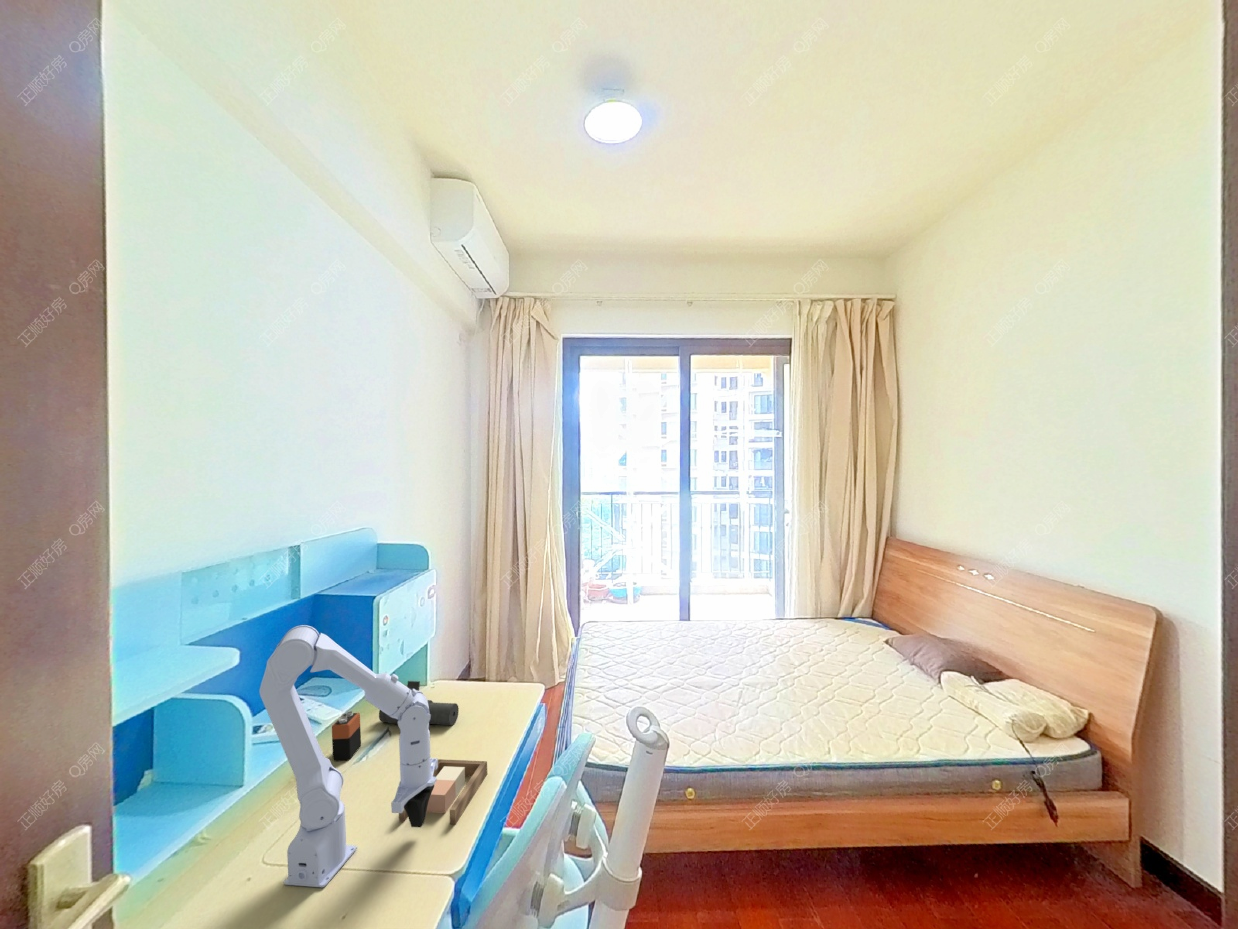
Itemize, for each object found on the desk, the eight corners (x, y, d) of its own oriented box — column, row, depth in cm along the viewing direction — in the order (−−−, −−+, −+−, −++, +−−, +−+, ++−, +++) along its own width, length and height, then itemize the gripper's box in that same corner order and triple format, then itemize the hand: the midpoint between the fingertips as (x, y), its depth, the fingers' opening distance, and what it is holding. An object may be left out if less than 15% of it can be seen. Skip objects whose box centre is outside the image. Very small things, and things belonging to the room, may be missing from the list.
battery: (332, 762, 131) (330, 722, 131) (345, 747, 138) (343, 709, 138) (349, 760, 131) (348, 721, 131) (361, 746, 138) (360, 708, 138)
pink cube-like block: (445, 814, 110) (444, 795, 110) (423, 812, 111) (422, 794, 111) (455, 798, 115) (455, 780, 115) (434, 797, 116) (433, 779, 116)
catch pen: (455, 824, 106) (455, 810, 106) (399, 821, 108) (398, 806, 108) (487, 774, 123) (487, 761, 123) (438, 771, 125) (437, 759, 125)
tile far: (455, 798, 115) (455, 780, 115) (434, 797, 116) (433, 779, 116) (465, 784, 120) (464, 767, 120) (444, 783, 121) (444, 766, 121)
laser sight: (446, 734, 143) (444, 698, 143) (371, 730, 147) (370, 694, 146) (462, 716, 153) (460, 682, 153) (392, 713, 156) (390, 680, 156)
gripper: (415, 780, 96) (418, 853, 96) (450, 738, 110) (452, 802, 110) (379, 778, 97) (382, 851, 97) (419, 737, 111) (421, 800, 111)
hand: (417, 825), depth 104 cm, fingers closed
